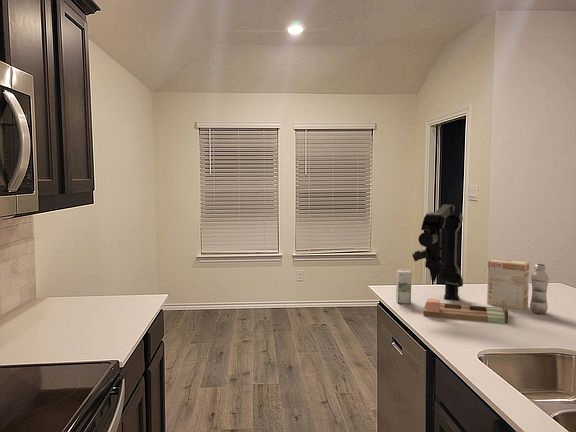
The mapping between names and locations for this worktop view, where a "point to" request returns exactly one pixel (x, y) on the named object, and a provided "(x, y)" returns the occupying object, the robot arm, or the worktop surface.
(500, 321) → the board
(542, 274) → the plastic bottle
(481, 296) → the worktop surface
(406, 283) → the syrup box
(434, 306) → the coral block
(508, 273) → the coffeecake box
